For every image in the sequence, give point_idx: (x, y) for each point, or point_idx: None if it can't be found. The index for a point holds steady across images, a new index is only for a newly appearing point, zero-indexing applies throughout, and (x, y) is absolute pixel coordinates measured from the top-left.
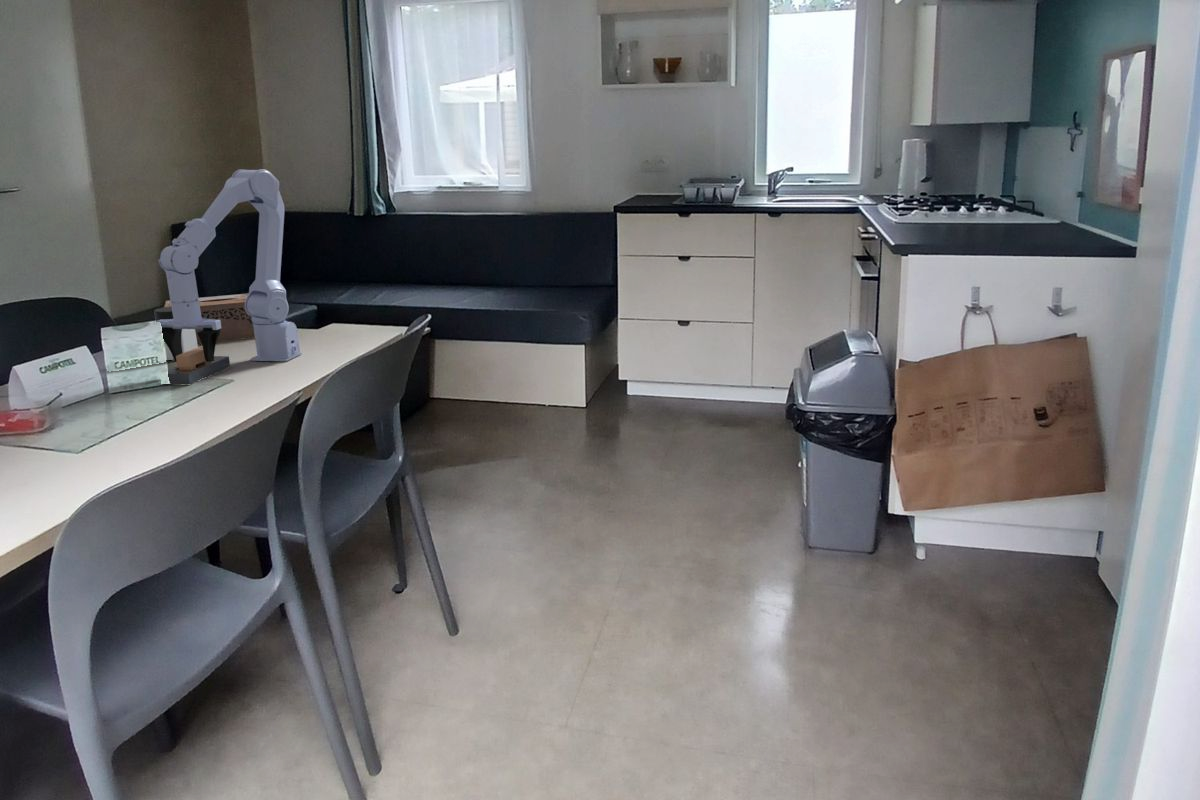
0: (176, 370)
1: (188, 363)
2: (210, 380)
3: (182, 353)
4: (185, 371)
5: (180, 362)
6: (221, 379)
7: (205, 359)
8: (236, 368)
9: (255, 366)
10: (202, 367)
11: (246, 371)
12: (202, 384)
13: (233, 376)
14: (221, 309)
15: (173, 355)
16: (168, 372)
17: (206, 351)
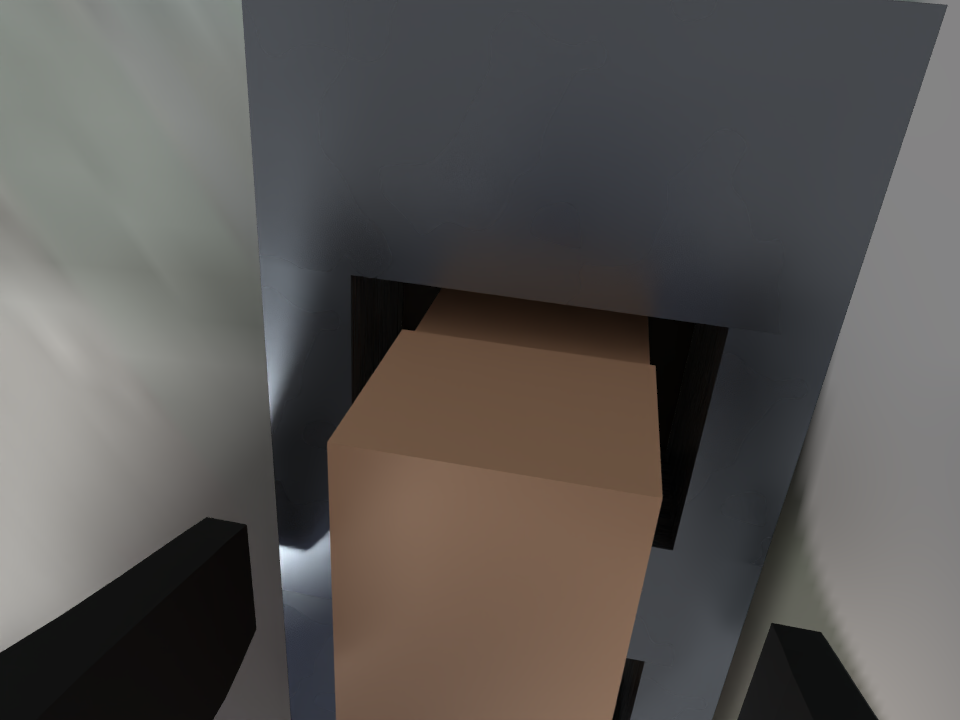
0: (634, 249)
1: (402, 365)
2: (199, 228)
3: (612, 686)
4: (412, 160)
5: (570, 397)
6: (94, 267)
7: (220, 543)
8: (245, 671)
9: None
10: (279, 406)
11: (68, 556)
12: (166, 7)
13: (54, 386)
14: None
15: (851, 713)
16: (740, 97)
17: (60, 625)
